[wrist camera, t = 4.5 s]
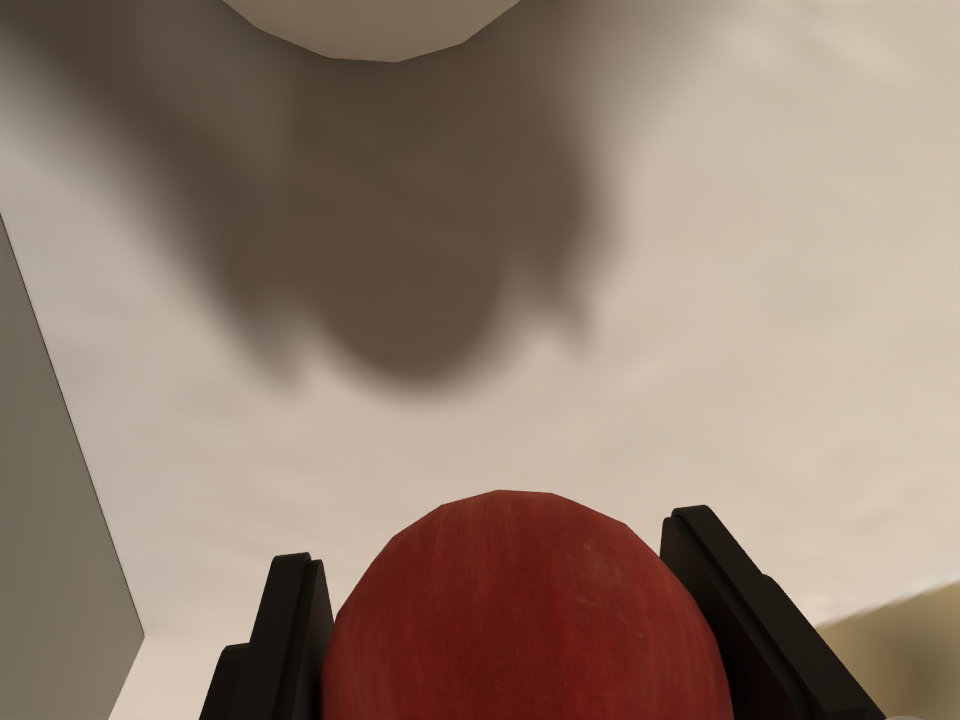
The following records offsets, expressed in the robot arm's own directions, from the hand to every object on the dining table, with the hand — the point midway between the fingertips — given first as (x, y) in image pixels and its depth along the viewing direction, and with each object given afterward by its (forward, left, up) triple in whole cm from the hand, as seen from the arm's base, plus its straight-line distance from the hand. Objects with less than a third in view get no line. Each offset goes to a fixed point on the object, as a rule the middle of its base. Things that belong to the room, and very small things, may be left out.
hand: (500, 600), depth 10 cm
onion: (0, 0, -2) cm, 2 cm away
